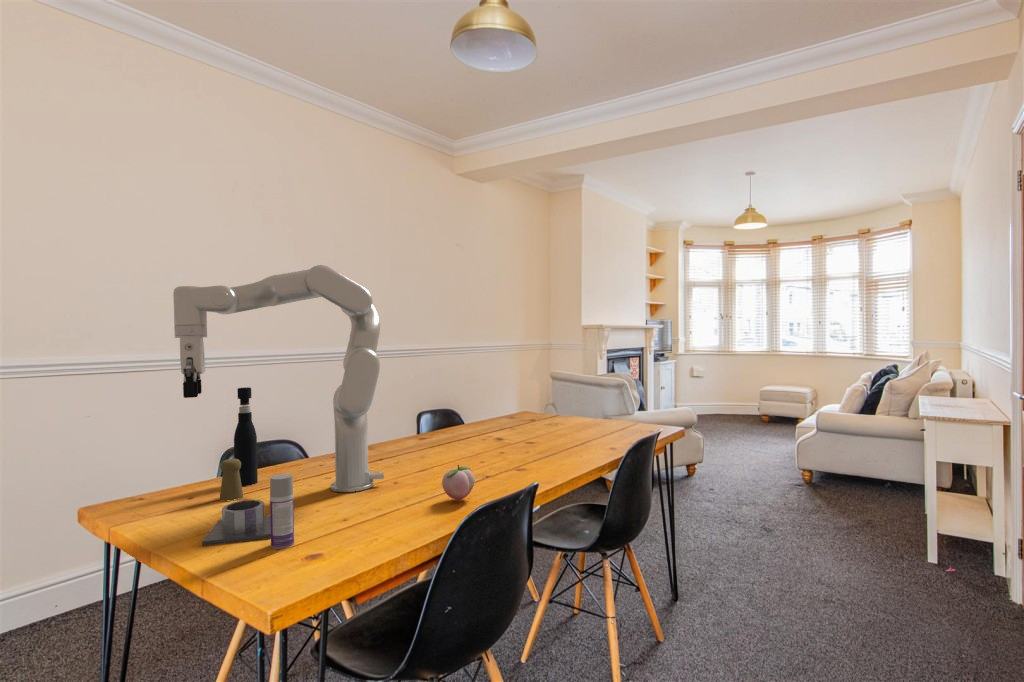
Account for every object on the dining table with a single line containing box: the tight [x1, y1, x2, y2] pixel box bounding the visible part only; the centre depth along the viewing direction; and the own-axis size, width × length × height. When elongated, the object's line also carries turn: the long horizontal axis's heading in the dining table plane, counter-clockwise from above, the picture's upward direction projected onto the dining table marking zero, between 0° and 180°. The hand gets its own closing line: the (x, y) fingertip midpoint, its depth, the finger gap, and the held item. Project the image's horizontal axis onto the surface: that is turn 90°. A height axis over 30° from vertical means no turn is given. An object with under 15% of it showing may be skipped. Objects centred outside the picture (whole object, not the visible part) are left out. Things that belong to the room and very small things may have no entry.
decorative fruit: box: [441, 464, 476, 502], centre depth 144 cm, size 9×8×10 cm
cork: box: [219, 458, 244, 501], centre depth 150 cm, size 6×6×11 cm
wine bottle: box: [233, 386, 259, 487], centre depth 165 cm, size 6×6×30 cm
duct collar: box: [201, 499, 271, 547], centre depth 124 cm, size 14×14×6 cm
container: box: [269, 473, 295, 550], centre depth 115 cm, size 5×5×15 cm
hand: (192, 395), depth 142 cm, fingers open, 9 cm apart
